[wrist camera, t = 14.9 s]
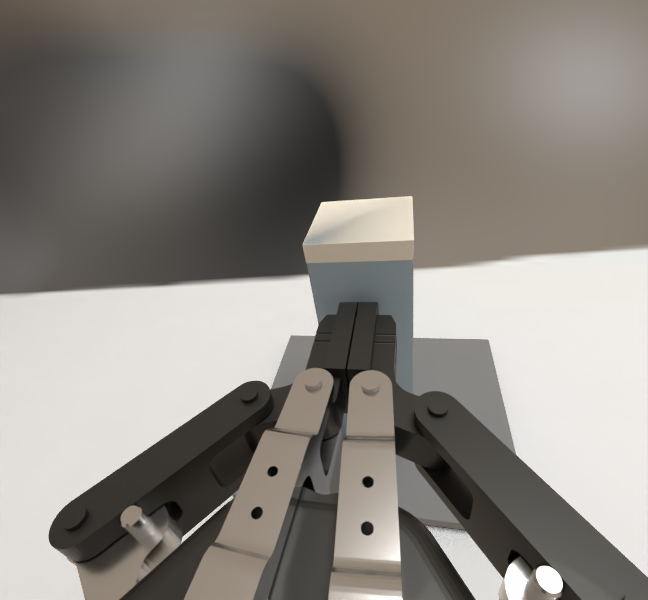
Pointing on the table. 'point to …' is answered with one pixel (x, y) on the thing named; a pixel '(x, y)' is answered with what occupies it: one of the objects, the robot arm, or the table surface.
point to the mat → (428, 375)
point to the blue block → (366, 265)
